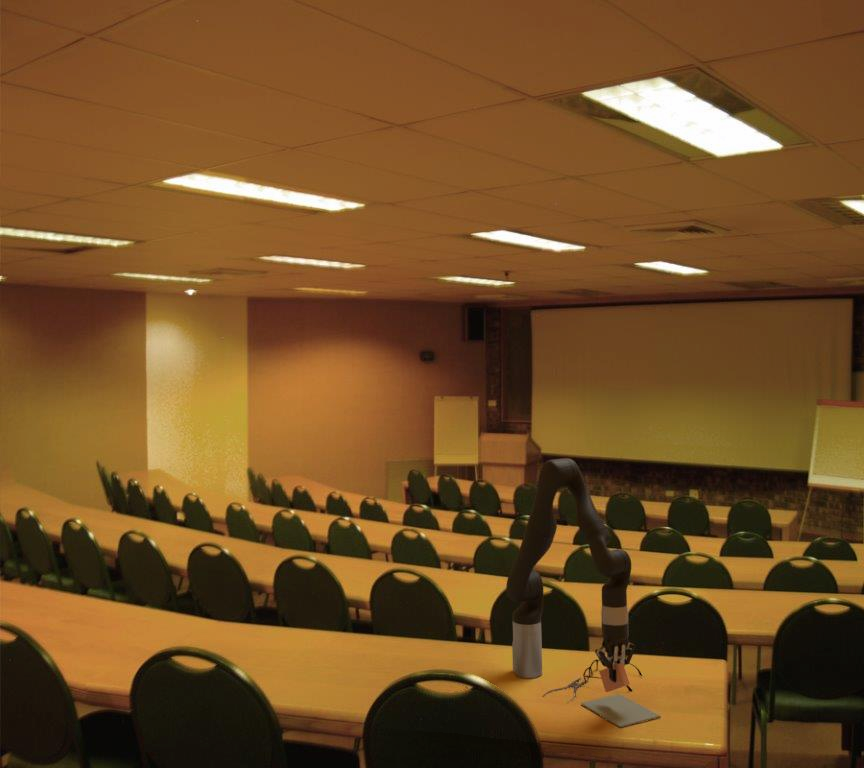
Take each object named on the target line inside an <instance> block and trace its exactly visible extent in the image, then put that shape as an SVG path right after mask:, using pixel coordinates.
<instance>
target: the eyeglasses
mask: <svg viewBox="0 0 864 768" xmlns="http://www.w3.org/2000/svg"><path fill="white" fill-rule="evenodd" d="M595 662H596V668H595V669H596V670H597V671H598V670H599V669H598V667H599V664H598V663H599V662H600V660H599V658H598V659H594V660H593V661H592V662H591V663H590V665H589V666H588V667H587V668H585V670H584V671H583V679H584V682H586V680H587V679H586V678H588V679H589V678H590V679H591V678H594V679H601V677H597V676H593V675H594V671H593V670H592V667H593V664H594V663H595ZM628 665H631V666H632V667H634V668H635V669H636V670H637V672H638V674H639V676H640V675H641V676H643V674H642V672H641V671H640V669H639V668H638V667H637V666H636V665H634V664H632V663H631V662H630V663H629V664H628ZM587 671H588V675H586V673H587ZM592 674H593V675H592ZM591 675H592V676H591ZM601 680H602V679H601ZM625 687H626V688H627V690H628V691H629V692H630V691H633V689H632V688H631V687H630V685H627V686H625Z"/></svg>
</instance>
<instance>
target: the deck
mask: <svg viewBox="0 0 864 768" xmlns="http://www.w3.org/2000/svg"><path fill="white" fill-rule="evenodd" d="M598 673H599V675H600V678H601V681H602V684H603V688H604V691H605V693H608V692H612V691H616V690H618V689H621V688H623V687H626V686H627V685H628V686H630V681H629V678H628V674H627V672H626V669H625V666H624V665H623V663H619V664H616V682H613V681H611V680H610V678H609V668H607V667H605V668H603V669H601V670H599V672H598Z"/></svg>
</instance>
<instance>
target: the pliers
mask: <svg viewBox="0 0 864 768" xmlns="http://www.w3.org/2000/svg"><path fill="white" fill-rule="evenodd" d="M580 679H581V680H582V677H579V678H578V679H575V680H573V681H572V682H571V683H570V684H568V685H567V686H564V687H563V686H562V687H561V688H555V689H551V690H548V691H546V692H545V693H544V694H543V695H542V696H541V697H542V698H544V697H546V694H547V695H548V694H551V693H554V692H558V691H563V689H564V690H567V688H569V689H571V688H570V687H572V688H573V687H574V688H573V689H574V692H573V694H574V693H575V696H574V695H573V698H572V699H570V700H568V701H567V702H569V701H572V700H573V699H574V698H575V697H576V691H577V692H578V690H579V689H580V688H582V687H583V686H582V685H584V684H586V683H587V682H588V683H589V681H588V680H589V679H586V682H585V681H582V682H580V681H581V680H580ZM579 680H580V681H579ZM576 682H578V683H576ZM579 682H580V683H579ZM588 683H587V684H588ZM587 684H586V685H587ZM581 686H582V687H581ZM584 686H585V685H584ZM579 687H580V688H579ZM578 688H579V689H578ZM577 689H578V690H577ZM553 691H554V692H553ZM576 698H577V697H576ZM573 701H574V700H573ZM573 701H572V702H573Z"/></svg>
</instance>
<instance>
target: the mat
mask: <svg viewBox="0 0 864 768" xmlns="http://www.w3.org/2000/svg"><path fill="white" fill-rule="evenodd" d="M580 704H582V705H584V706H585V707H587V708H589V709H590V710H592V711H594V712H595V713H594V712H593V713H594V714H596V713H597V714H599V715H601V716H602V717H604V718H605V719H604V718H603V719H604V720H606V719H607V720H609V721H610V723H611V722H612V723H614V724H615V725H614V724H613V725H614V726H616V725H617V726H616V727H618V728H619V727H620V728H619V729H622V728H621V727H623V728H625V727H624V726H627V727H629V726H628V725H631V726H633V725H632V724H635V725H637V724H636V723H639V724H641V723H640V722H642V721H646V720H650V719H654V718H658V717H660V718H661V715H660V714H658V713H656V712H654V711H653V710H650V709H649V708H647V707H644V706H643V705H642V704H640V703H637V702H636V701H634V700H632V699H630V698H628V697H626V696H624V695H622V694H620V693H617V694H613V695H610V696H604V697H601V698H596V699H592V700H587V701H584V702H580ZM582 705H581V706H582ZM584 706H583V707H584ZM585 707H584V708H585ZM587 708H586V709H587ZM589 709H588V710H589ZM590 710H589V711H590ZM592 711H591V712H592ZM597 714H596V715H597ZM599 715H598V716H599ZM601 716H600V717H601ZM602 717H601V718H602ZM658 719H659V718H658ZM607 720H606V721H607ZM654 720H655V719H654ZM609 721H608V722H609ZM650 721H651V720H650ZM646 722H647V721H646ZM612 723H611V724H612ZM642 723H643V722H642Z"/></svg>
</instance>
